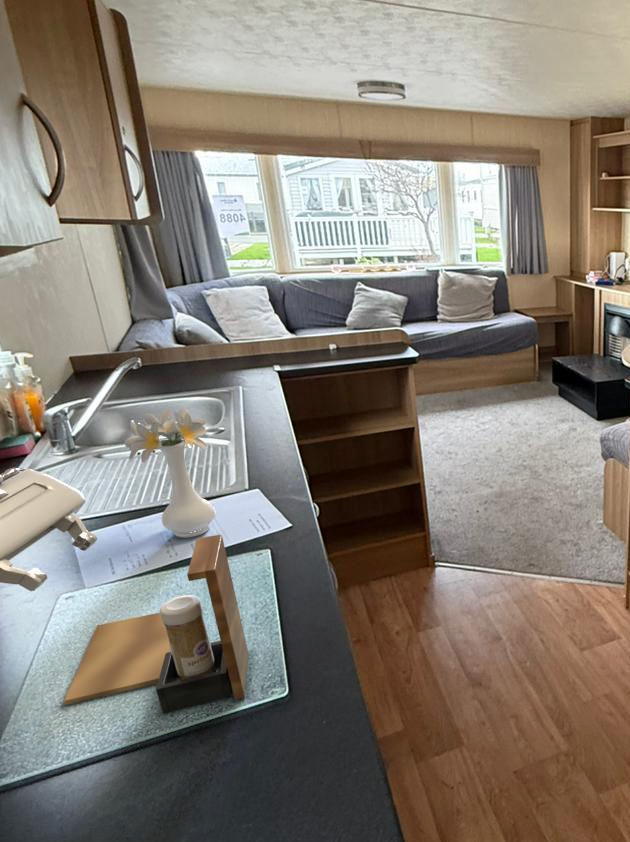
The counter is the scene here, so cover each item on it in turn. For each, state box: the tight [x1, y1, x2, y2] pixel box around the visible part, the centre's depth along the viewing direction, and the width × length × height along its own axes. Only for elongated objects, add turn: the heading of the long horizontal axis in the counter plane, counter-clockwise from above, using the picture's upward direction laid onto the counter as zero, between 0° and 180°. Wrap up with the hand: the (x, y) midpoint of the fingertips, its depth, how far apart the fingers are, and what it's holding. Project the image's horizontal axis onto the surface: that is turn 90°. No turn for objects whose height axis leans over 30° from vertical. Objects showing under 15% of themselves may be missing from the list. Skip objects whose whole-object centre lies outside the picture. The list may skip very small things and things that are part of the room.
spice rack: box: [155, 533, 249, 715], centre depth 86 cm, size 10×10×20 cm
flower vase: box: [124, 407, 217, 539], centre depth 127 cm, size 13×18×25 cm
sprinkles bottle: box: [159, 594, 218, 681], centre depth 87 cm, size 5×5×14 cm
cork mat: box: [63, 612, 171, 706], centre depth 96 cm, size 12×18×1 cm, turn 24°
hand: (67, 563), depth 81 cm, fingers open, 8 cm apart
